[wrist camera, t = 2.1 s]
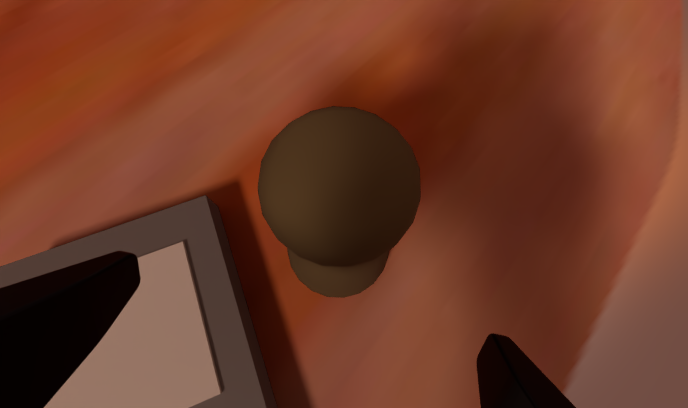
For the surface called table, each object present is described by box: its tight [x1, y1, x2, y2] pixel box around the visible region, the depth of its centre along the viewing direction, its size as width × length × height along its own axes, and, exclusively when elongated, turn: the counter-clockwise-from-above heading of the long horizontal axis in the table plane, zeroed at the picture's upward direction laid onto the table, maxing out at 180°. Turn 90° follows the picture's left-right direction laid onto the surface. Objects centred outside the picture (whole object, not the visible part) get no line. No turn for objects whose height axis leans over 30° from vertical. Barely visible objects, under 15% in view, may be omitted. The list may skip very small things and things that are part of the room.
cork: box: [258, 106, 420, 297], centre depth 14 cm, size 6×6×11 cm
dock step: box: [0, 195, 277, 408], centre depth 15 cm, size 18×11×2 cm, turn 22°
